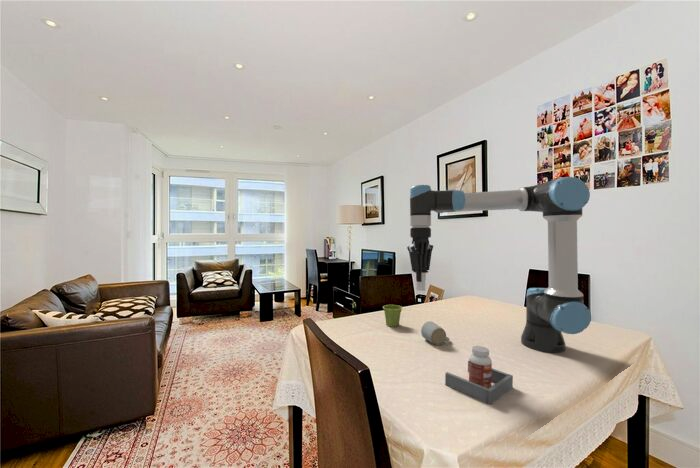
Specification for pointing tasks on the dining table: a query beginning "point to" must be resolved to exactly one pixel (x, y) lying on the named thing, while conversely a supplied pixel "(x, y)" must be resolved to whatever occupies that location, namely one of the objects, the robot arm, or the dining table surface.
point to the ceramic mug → (434, 333)
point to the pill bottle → (480, 366)
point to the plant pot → (392, 314)
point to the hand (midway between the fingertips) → (420, 290)
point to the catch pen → (479, 392)
